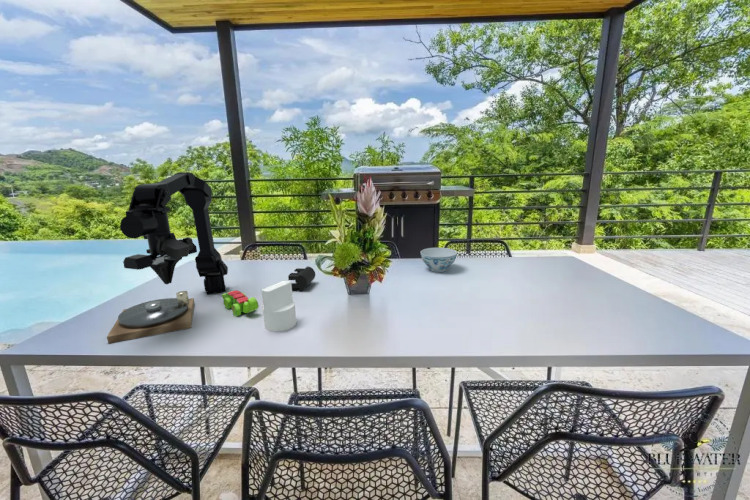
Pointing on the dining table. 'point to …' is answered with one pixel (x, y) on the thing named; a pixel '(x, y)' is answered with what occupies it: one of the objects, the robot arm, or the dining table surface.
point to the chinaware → (438, 258)
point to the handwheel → (155, 312)
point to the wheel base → (151, 327)
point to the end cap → (301, 278)
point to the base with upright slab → (278, 307)
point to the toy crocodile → (239, 302)
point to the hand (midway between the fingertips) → (168, 283)
